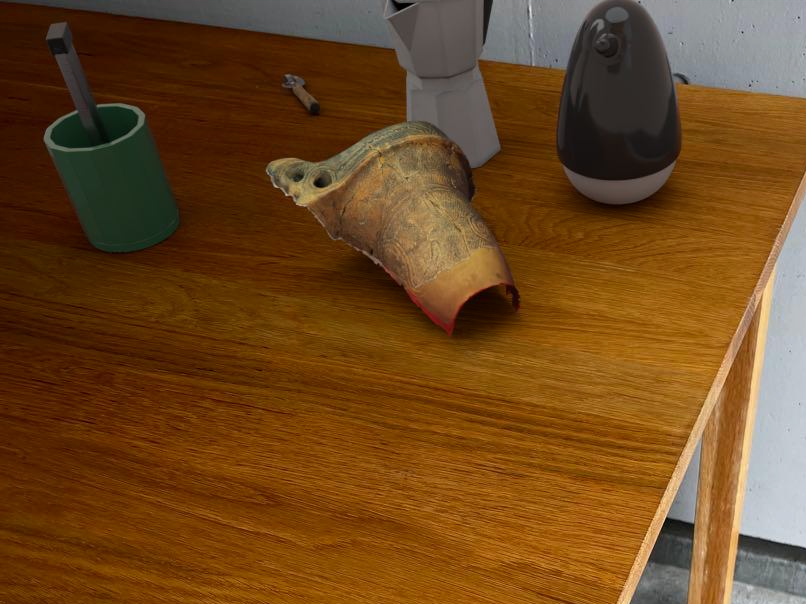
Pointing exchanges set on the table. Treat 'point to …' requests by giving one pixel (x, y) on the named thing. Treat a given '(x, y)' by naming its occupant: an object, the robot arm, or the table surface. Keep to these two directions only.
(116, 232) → the cup
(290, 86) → the can opener
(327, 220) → the tan clay pottery piece
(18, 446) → the table surface
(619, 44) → the pump dispenser
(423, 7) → the coffee maker
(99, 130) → the grey capped rod
